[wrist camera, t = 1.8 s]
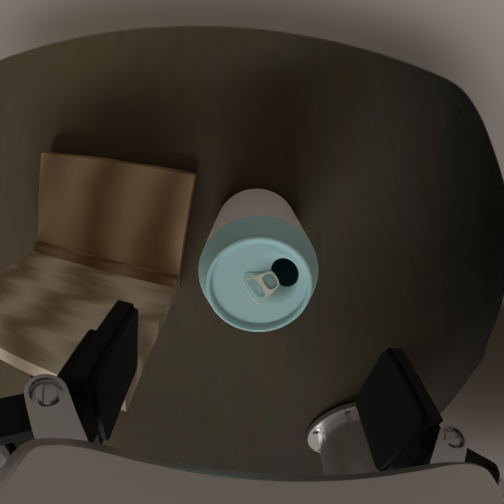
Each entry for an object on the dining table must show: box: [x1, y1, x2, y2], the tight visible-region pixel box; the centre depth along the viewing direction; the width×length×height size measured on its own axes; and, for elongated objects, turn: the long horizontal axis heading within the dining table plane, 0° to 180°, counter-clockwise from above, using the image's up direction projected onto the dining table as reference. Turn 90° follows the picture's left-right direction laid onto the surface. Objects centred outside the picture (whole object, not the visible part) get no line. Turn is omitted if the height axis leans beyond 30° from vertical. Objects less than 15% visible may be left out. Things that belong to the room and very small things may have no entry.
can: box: [199, 189, 318, 332], centre depth 22 cm, size 7×7×12 cm
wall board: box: [0, 152, 198, 411], centre depth 20 cm, size 16×11×16 cm
